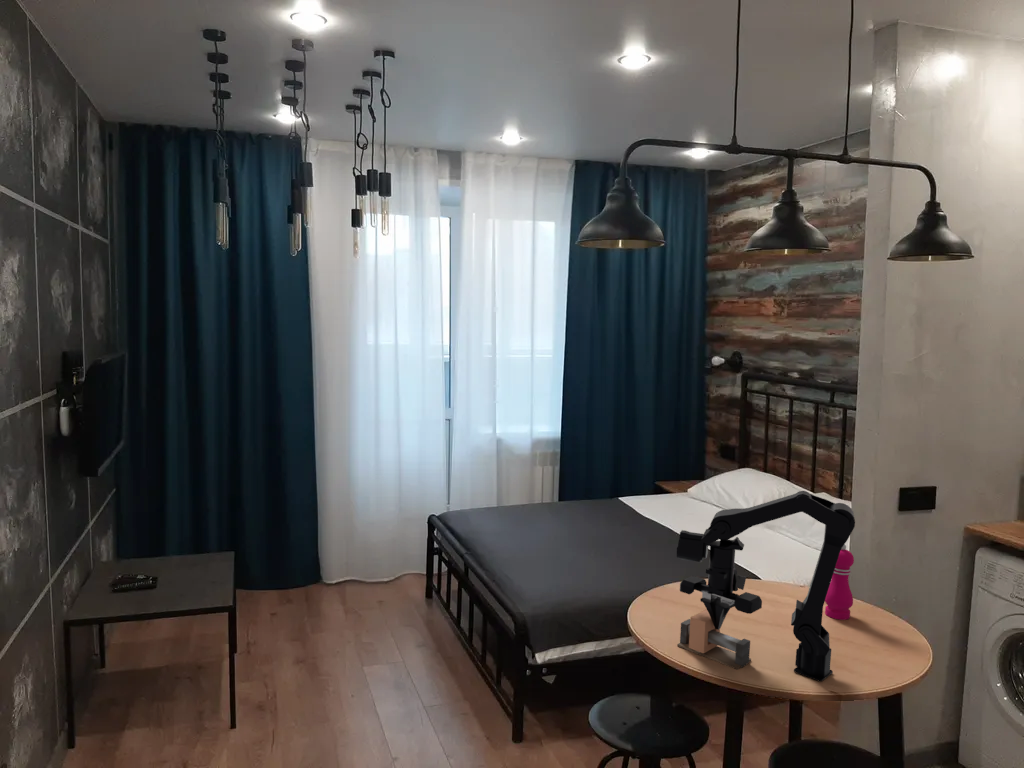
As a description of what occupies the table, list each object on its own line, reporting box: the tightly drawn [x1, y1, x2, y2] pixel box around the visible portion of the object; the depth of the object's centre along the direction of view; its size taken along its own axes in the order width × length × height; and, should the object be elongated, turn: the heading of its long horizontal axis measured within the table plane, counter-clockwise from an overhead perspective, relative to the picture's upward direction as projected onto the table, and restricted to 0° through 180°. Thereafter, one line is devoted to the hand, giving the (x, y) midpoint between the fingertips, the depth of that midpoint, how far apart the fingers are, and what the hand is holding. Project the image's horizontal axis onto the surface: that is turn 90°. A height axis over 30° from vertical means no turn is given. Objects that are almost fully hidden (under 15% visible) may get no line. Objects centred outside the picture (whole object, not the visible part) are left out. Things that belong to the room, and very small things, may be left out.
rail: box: [677, 618, 752, 670], centre depth 184 cm, size 16×6×5 cm, turn 45°
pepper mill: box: [824, 543, 855, 621], centre depth 208 cm, size 7×7×20 cm
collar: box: [689, 609, 721, 654], centre depth 185 cm, size 4×7×8 cm, turn 135°
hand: (717, 628), depth 183 cm, fingers closed
